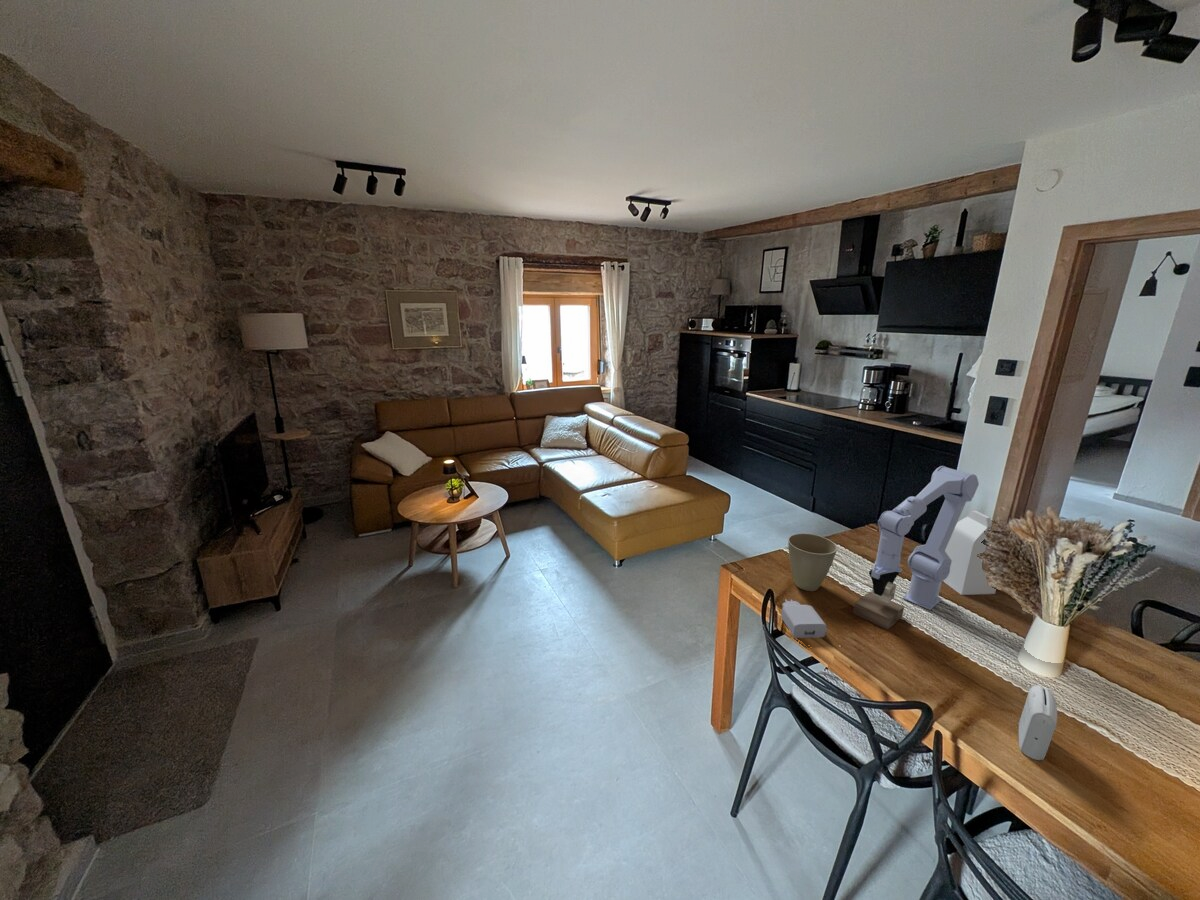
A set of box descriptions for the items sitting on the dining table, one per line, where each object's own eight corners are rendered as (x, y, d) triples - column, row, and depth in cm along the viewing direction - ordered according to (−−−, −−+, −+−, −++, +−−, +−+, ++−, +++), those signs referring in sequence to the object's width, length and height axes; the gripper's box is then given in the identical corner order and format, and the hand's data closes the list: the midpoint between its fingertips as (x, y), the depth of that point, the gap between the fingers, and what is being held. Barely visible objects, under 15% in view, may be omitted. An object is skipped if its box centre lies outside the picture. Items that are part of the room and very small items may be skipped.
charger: (801, 606, 147) (824, 637, 132) (773, 606, 147) (793, 638, 132) (803, 593, 145) (827, 623, 131) (774, 593, 145) (794, 624, 131)
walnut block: (867, 602, 149) (869, 591, 148) (901, 617, 141) (904, 606, 140) (852, 613, 143) (854, 602, 142) (887, 630, 135) (889, 619, 134)
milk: (934, 574, 163) (949, 507, 156) (966, 574, 163) (982, 506, 156) (961, 594, 151) (978, 522, 144) (995, 593, 152) (1014, 521, 144)
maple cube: (878, 590, 143) (880, 577, 141) (893, 597, 139) (896, 584, 138) (871, 595, 140) (873, 582, 139) (887, 603, 137) (889, 589, 135)
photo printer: (1045, 765, 95) (1062, 717, 91) (1017, 753, 97) (1032, 706, 94) (1042, 731, 102) (1057, 686, 99) (1017, 721, 105) (1030, 676, 101)
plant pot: (840, 595, 152) (847, 552, 147) (798, 599, 150) (804, 555, 145) (814, 571, 166) (819, 531, 161) (775, 575, 164) (779, 534, 159)
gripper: (893, 564, 128) (885, 606, 132) (914, 548, 137) (906, 588, 141) (866, 554, 134) (859, 594, 138) (889, 540, 142) (881, 578, 146)
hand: (881, 591), depth 139 cm, fingers closed on maple cube, 4 cm apart
